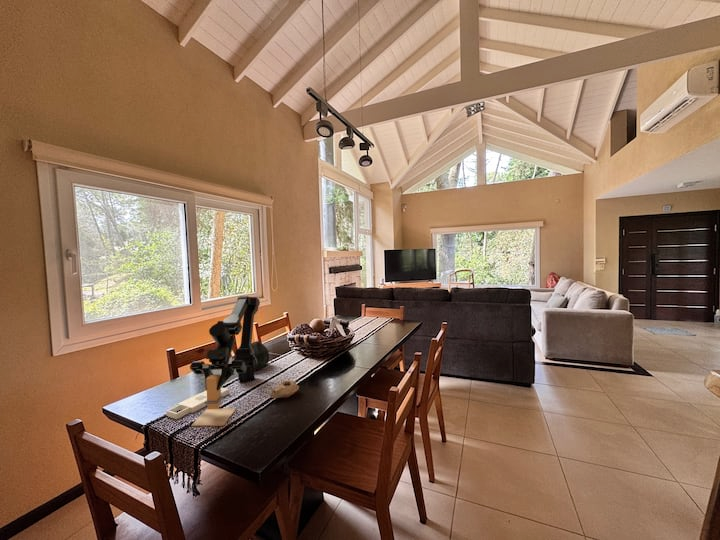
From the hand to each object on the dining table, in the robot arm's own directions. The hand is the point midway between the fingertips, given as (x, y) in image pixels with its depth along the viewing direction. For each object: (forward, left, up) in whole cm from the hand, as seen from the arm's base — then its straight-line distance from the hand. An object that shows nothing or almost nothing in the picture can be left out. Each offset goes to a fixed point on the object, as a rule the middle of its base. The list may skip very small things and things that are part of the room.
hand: (212, 390), depth 104 cm
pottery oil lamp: (-26, -6, -11) cm, 29 cm away
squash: (-19, -45, -11) cm, 50 cm away
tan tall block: (-1, -1, -7) cm, 7 cm away
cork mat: (-1, -1, -10) cm, 11 cm away
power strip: (+6, -15, -10) cm, 19 cm away
